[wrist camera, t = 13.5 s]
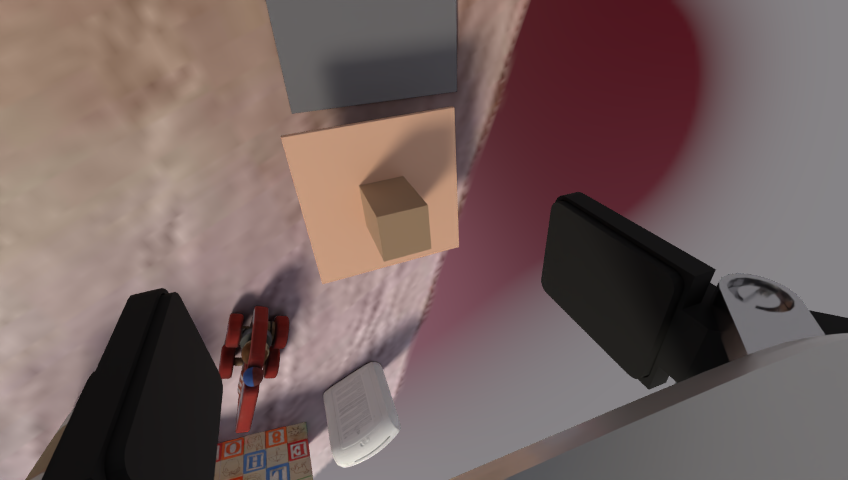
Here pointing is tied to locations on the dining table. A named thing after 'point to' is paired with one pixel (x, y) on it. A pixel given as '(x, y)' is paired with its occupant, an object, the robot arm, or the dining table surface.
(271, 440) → the stack of blocks
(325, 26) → the mat
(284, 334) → the toy fire truck
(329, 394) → the photo printer
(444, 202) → the cover
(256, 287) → the dining table surface
